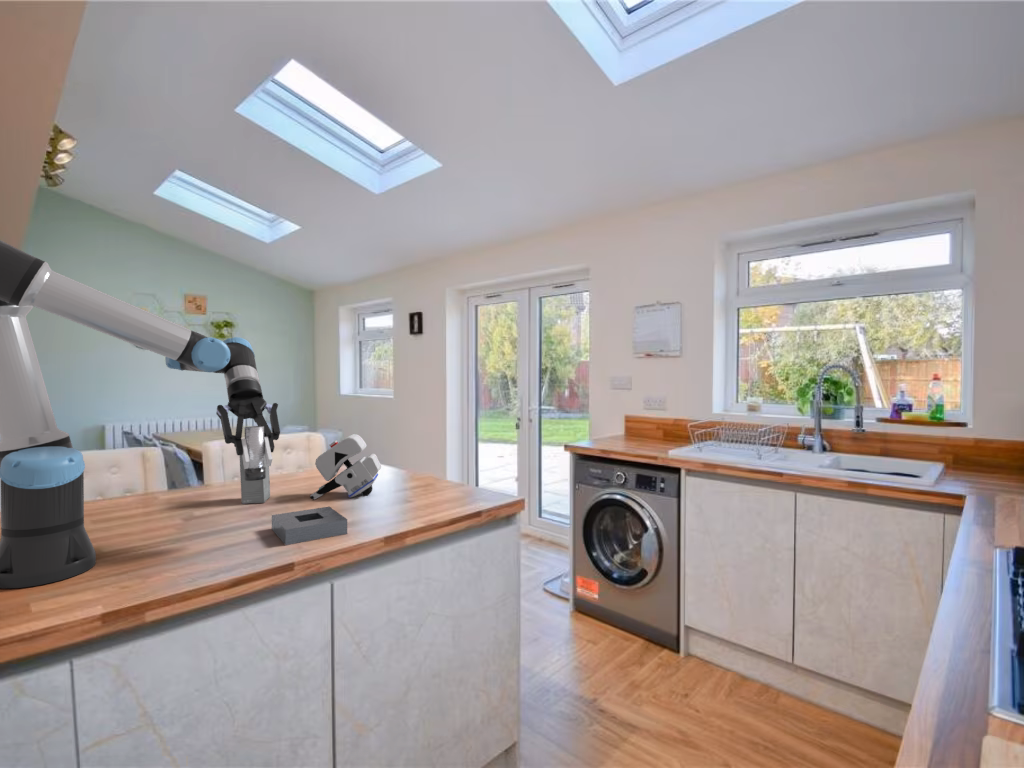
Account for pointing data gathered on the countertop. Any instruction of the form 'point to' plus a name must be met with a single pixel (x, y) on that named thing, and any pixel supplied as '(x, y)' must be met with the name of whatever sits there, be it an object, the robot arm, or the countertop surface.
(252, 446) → the grey black cylinder
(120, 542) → the countertop surface
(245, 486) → the product box
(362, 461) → the robotic device
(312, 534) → the chuck block
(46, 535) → the robot arm
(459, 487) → the countertop surface
